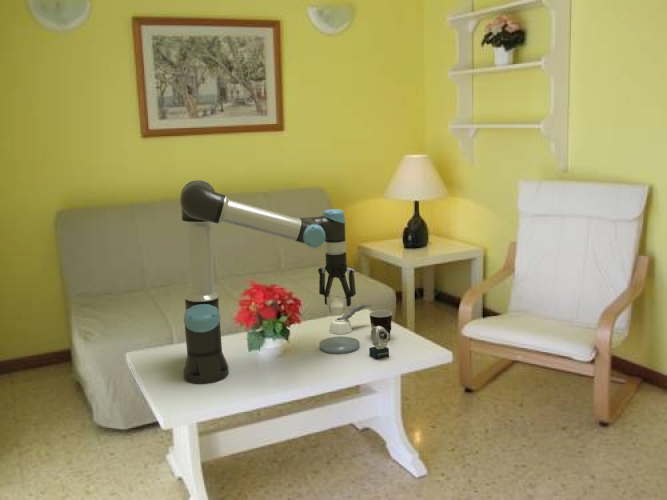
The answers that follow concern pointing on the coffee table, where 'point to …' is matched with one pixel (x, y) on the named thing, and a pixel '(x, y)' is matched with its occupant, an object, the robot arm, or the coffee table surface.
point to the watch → (379, 337)
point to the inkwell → (345, 321)
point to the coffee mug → (381, 319)
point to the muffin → (337, 306)
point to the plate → (339, 345)
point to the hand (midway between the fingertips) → (338, 313)
